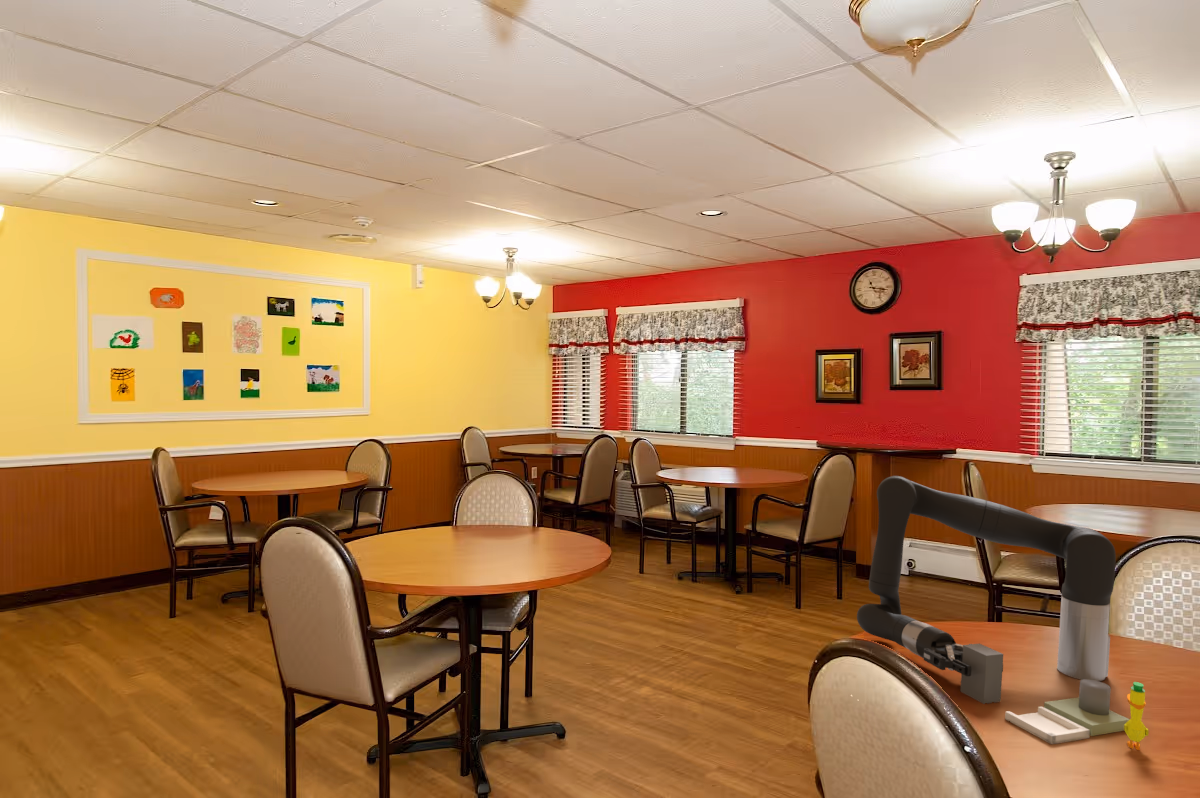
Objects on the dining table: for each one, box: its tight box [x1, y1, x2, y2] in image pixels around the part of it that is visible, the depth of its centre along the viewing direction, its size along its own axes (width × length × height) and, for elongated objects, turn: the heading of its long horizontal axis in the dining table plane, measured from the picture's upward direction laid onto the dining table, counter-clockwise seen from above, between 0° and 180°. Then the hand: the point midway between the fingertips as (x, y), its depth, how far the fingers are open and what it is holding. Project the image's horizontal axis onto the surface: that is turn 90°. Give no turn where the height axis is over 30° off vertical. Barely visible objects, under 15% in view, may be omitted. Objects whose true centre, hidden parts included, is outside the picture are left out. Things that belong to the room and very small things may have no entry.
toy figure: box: [1124, 681, 1150, 751], centre depth 132 cm, size 7×4×12 cm, turn 153°
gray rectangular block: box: [959, 642, 1004, 705], centre depth 152 cm, size 4×6×10 cm
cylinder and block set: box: [1004, 679, 1131, 745], centre depth 140 cm, size 21×10×7 cm, turn 109°
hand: (986, 670), depth 151 cm, fingers open, 8 cm apart
